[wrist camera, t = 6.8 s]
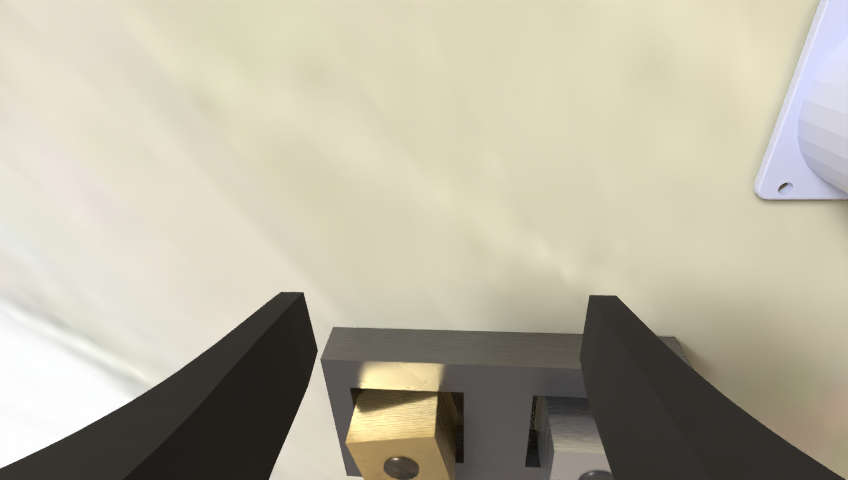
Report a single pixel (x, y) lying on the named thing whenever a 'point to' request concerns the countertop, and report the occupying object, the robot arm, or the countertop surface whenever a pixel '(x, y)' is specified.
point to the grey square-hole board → (462, 386)
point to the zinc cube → (569, 440)
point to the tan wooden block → (403, 434)
